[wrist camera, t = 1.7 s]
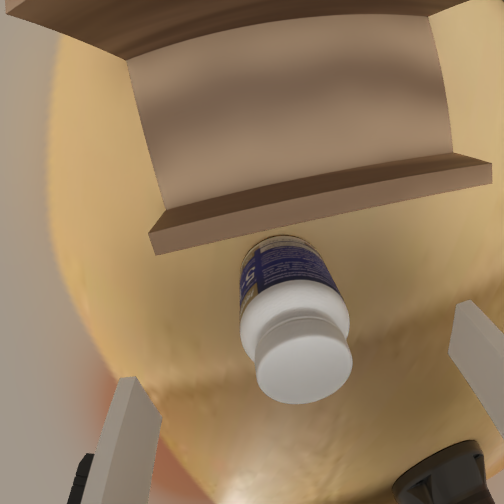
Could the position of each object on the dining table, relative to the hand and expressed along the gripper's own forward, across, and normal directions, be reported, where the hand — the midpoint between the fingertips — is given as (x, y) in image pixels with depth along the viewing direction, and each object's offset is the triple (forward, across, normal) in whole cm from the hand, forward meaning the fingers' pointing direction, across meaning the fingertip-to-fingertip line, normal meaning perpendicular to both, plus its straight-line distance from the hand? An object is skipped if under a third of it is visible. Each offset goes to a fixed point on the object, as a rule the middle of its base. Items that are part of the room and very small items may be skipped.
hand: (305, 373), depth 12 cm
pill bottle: (+10, 0, +1) cm, 10 cm away
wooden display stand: (+9, -3, -10) cm, 14 cm away
